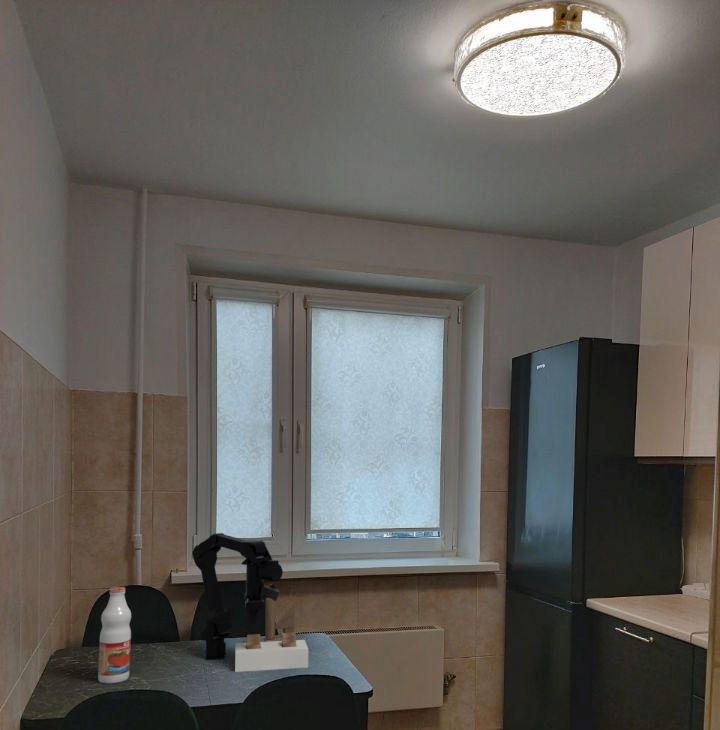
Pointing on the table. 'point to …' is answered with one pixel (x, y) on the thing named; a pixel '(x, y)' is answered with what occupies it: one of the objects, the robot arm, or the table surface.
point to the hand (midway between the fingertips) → (253, 626)
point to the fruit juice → (115, 639)
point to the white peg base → (271, 656)
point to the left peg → (253, 641)
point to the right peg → (288, 639)
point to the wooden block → (284, 622)
